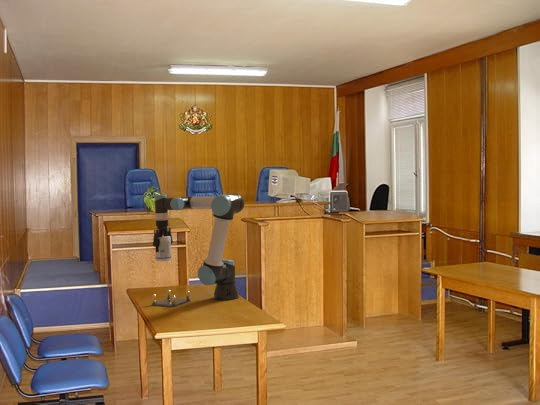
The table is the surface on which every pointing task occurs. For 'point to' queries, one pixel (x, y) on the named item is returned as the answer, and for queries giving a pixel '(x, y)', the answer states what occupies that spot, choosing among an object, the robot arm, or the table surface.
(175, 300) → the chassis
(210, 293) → the table surface
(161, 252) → the supplement tub
